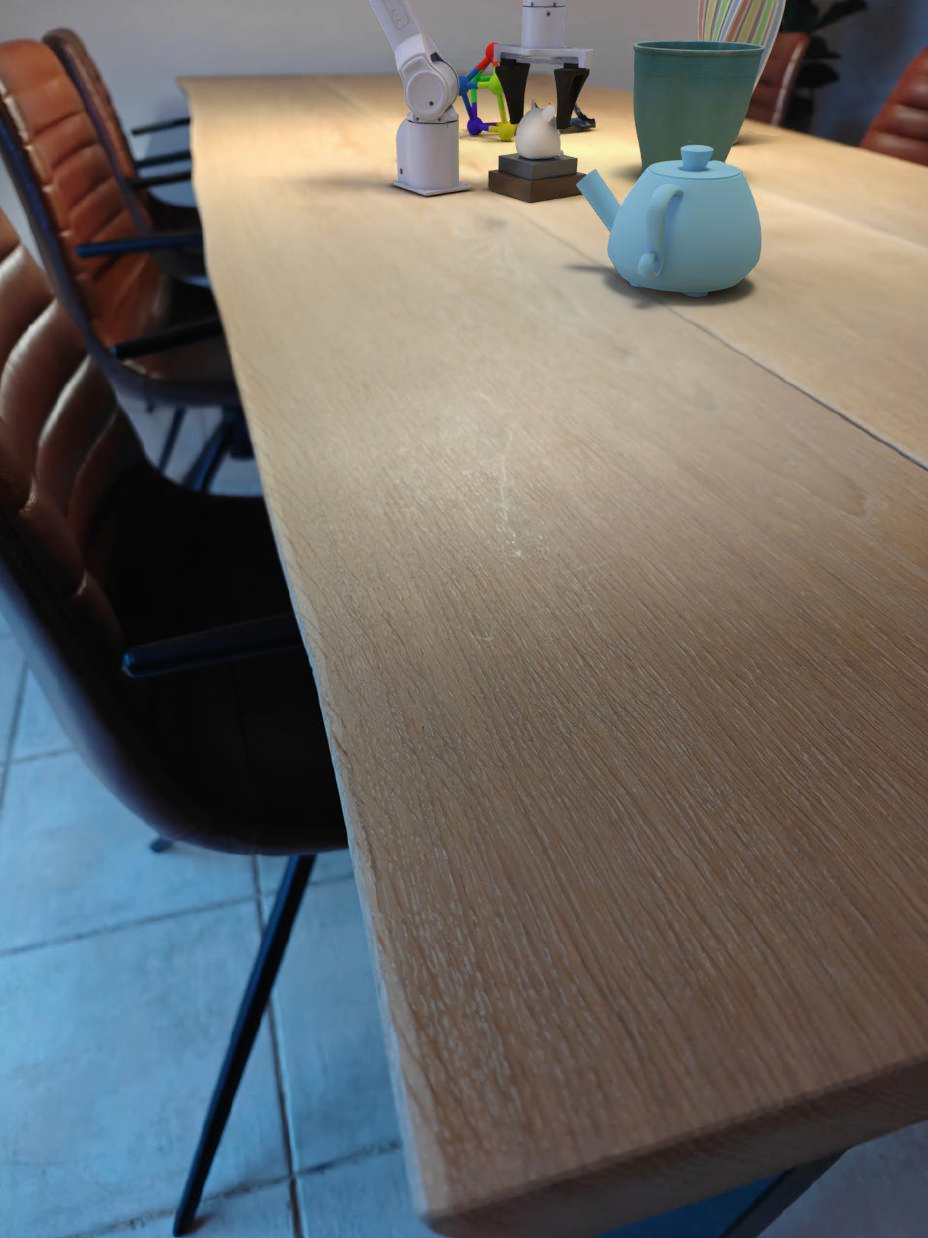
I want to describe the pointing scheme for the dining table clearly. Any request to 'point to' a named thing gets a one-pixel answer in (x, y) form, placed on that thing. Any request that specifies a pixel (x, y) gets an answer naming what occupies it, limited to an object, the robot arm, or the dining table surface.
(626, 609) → the dining table surface
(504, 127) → the educational toy
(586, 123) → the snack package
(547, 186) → the stack
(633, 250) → the teapot
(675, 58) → the flower pot
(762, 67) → the vase
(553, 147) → the figurine
